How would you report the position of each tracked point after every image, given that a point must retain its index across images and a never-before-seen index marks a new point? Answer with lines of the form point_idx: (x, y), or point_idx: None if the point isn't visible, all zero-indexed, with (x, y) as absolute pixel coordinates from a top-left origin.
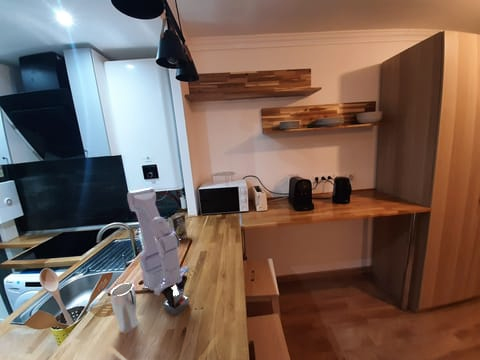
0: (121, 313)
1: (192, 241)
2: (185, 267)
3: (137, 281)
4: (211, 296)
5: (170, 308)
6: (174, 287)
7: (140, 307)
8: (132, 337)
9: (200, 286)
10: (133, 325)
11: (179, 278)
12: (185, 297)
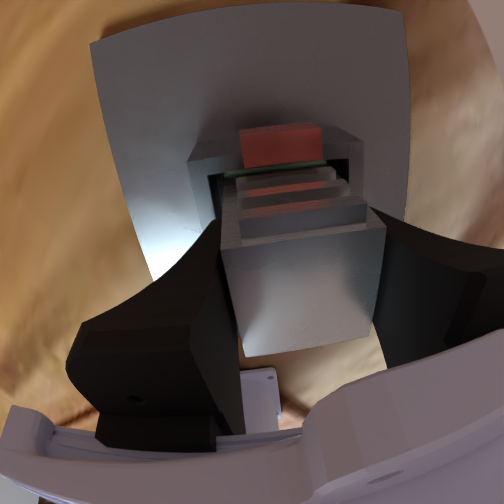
0: None
1: None
2: (46, 497)
3: None
4: (37, 101)
5: None
6: (271, 340)
7: (358, 349)
8: (477, 232)
9: (49, 242)
10: None
11: (376, 492)
12: (204, 183)
